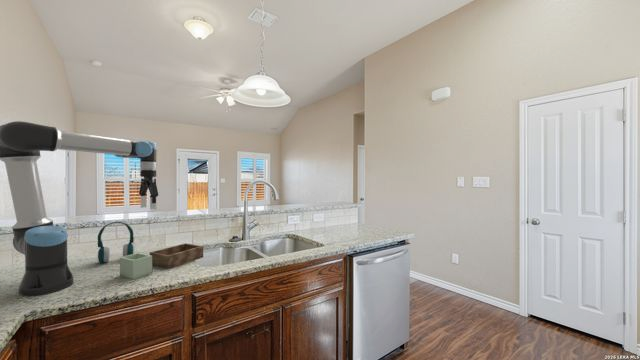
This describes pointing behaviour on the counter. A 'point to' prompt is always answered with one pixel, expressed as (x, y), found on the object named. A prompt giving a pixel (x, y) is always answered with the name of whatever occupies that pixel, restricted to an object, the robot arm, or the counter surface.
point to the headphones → (104, 251)
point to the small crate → (135, 265)
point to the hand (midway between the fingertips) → (148, 208)
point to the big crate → (176, 255)
